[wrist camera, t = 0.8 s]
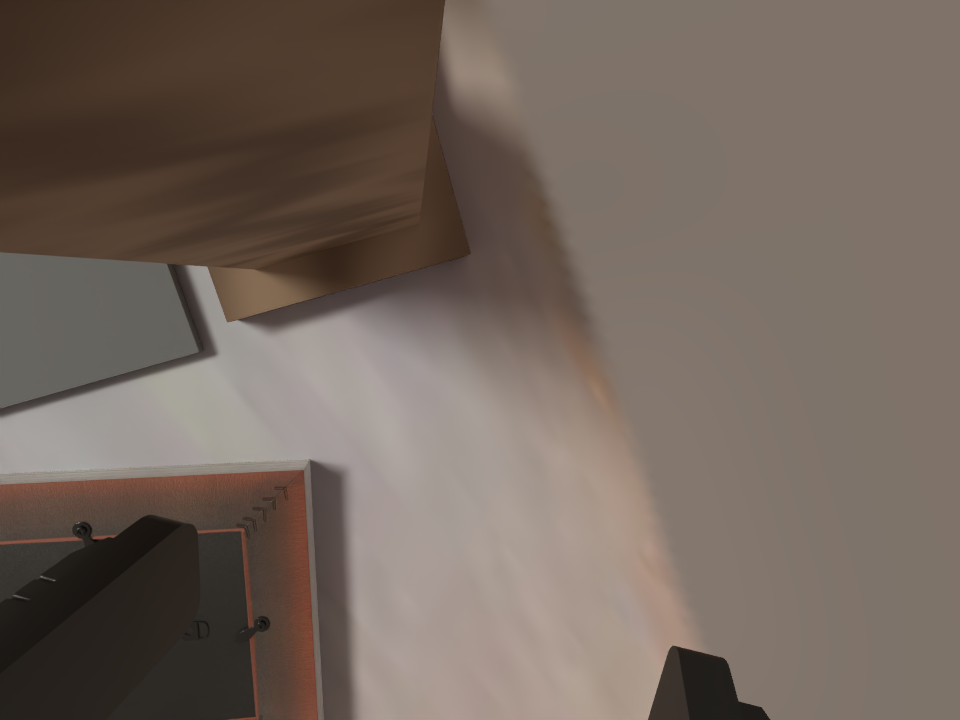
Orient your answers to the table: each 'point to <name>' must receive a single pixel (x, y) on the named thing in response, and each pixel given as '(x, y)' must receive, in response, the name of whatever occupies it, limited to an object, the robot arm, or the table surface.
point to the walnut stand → (228, 140)
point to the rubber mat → (85, 322)
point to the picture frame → (223, 577)
